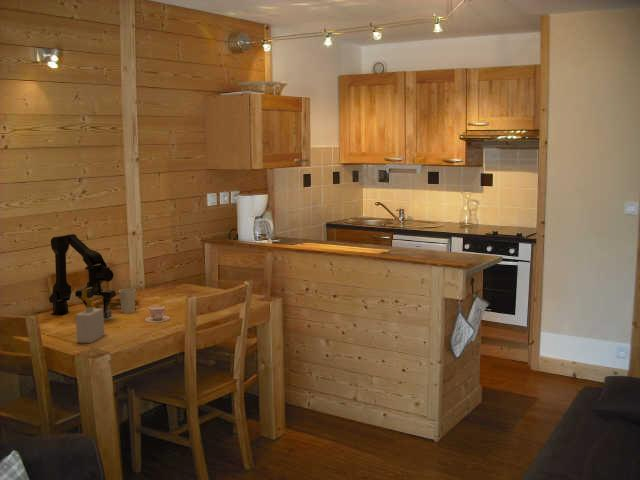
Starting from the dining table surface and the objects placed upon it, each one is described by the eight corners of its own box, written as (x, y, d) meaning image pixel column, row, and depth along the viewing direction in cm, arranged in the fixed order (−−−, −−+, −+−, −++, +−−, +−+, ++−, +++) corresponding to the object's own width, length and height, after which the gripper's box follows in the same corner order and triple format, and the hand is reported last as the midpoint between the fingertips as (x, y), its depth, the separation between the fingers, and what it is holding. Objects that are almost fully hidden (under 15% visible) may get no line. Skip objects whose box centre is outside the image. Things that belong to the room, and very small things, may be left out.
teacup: (139, 321, 337) (139, 309, 337) (154, 315, 348) (153, 303, 348) (160, 324, 333) (160, 311, 332) (174, 317, 344) (174, 305, 343)
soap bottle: (90, 343, 302) (87, 290, 298) (76, 342, 303) (73, 290, 300) (105, 335, 314) (102, 284, 310) (91, 334, 315) (88, 284, 312)
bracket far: (91, 317, 341) (90, 311, 341) (95, 315, 345) (95, 309, 345) (107, 318, 339) (106, 312, 339) (111, 316, 343) (111, 310, 343)
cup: (132, 315, 348) (130, 292, 346) (117, 315, 349) (116, 291, 347) (139, 311, 355) (138, 288, 353) (124, 311, 357) (123, 288, 355)
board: (75, 325, 331) (75, 323, 331) (95, 315, 349) (95, 313, 349) (98, 326, 329) (97, 324, 328) (117, 316, 346) (117, 314, 346)
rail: (84, 321, 332) (84, 314, 331) (101, 313, 346) (101, 306, 345) (91, 322, 331) (91, 314, 330) (108, 314, 345) (107, 307, 345)
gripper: (67, 281, 330) (69, 314, 332) (103, 283, 326) (105, 316, 328) (81, 277, 341) (82, 308, 343) (115, 278, 336) (117, 310, 339)
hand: (96, 310), depth 338 cm, fingers open, 9 cm apart
